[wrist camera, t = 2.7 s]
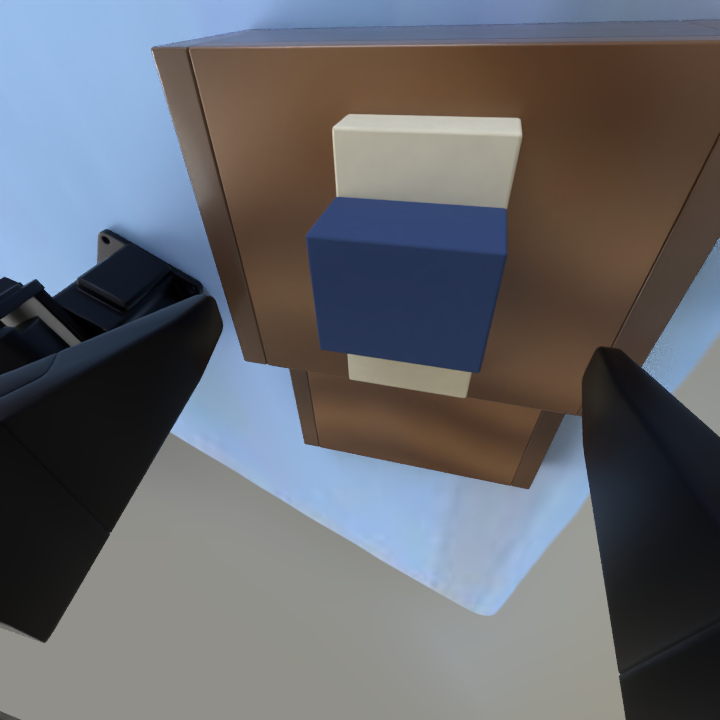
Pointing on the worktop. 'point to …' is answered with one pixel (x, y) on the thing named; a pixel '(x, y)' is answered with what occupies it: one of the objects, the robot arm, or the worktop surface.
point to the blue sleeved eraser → (414, 246)
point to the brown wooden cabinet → (524, 212)
